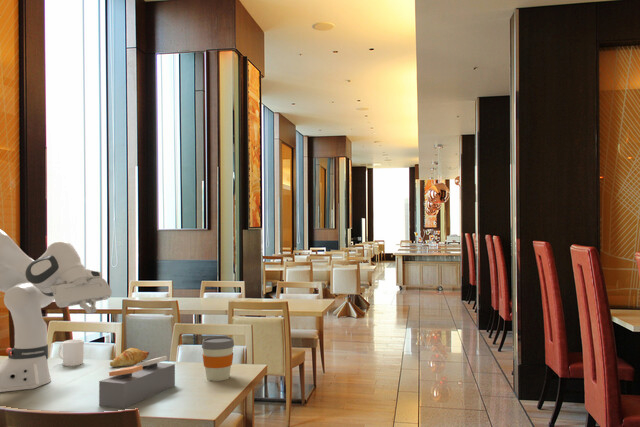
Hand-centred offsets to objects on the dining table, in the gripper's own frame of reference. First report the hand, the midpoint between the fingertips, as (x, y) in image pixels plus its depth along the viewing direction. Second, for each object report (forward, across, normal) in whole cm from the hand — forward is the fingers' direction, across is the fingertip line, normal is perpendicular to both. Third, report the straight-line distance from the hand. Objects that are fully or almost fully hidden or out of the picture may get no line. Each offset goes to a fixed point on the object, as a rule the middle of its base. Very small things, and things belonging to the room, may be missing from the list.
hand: (92, 312), depth 185 cm
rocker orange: (+23, +3, +2) cm, 24 cm away
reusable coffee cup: (+38, +41, +4) cm, 56 cm away
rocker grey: (+22, +17, +5) cm, 28 cm away
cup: (-8, +27, +62) cm, 69 cm away
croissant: (+6, +41, +45) cm, 61 cm away
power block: (+31, +10, +10) cm, 34 cm away
